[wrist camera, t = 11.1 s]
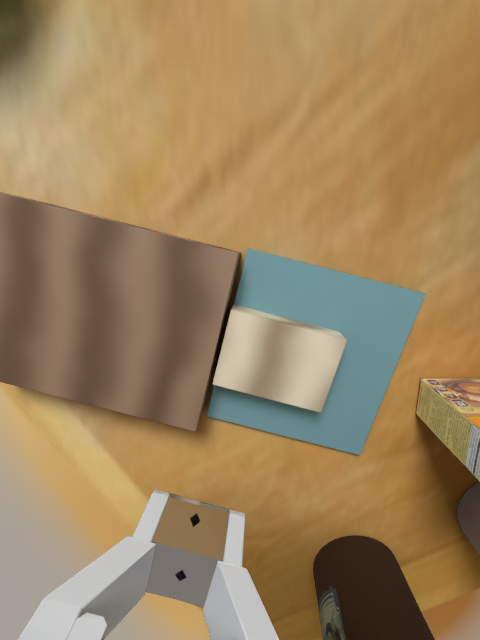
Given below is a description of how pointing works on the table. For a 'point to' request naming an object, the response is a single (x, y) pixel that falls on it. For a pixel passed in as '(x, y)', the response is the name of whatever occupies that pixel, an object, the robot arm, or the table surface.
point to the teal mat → (357, 358)
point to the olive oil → (365, 593)
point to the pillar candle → (470, 515)
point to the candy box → (453, 416)
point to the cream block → (278, 358)
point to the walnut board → (110, 311)
